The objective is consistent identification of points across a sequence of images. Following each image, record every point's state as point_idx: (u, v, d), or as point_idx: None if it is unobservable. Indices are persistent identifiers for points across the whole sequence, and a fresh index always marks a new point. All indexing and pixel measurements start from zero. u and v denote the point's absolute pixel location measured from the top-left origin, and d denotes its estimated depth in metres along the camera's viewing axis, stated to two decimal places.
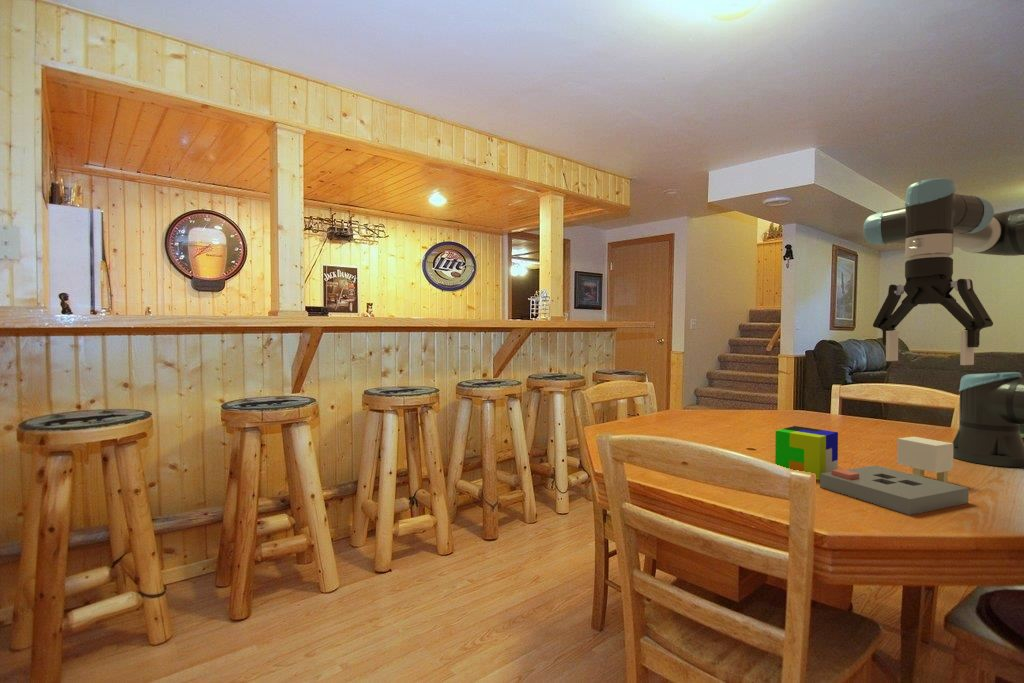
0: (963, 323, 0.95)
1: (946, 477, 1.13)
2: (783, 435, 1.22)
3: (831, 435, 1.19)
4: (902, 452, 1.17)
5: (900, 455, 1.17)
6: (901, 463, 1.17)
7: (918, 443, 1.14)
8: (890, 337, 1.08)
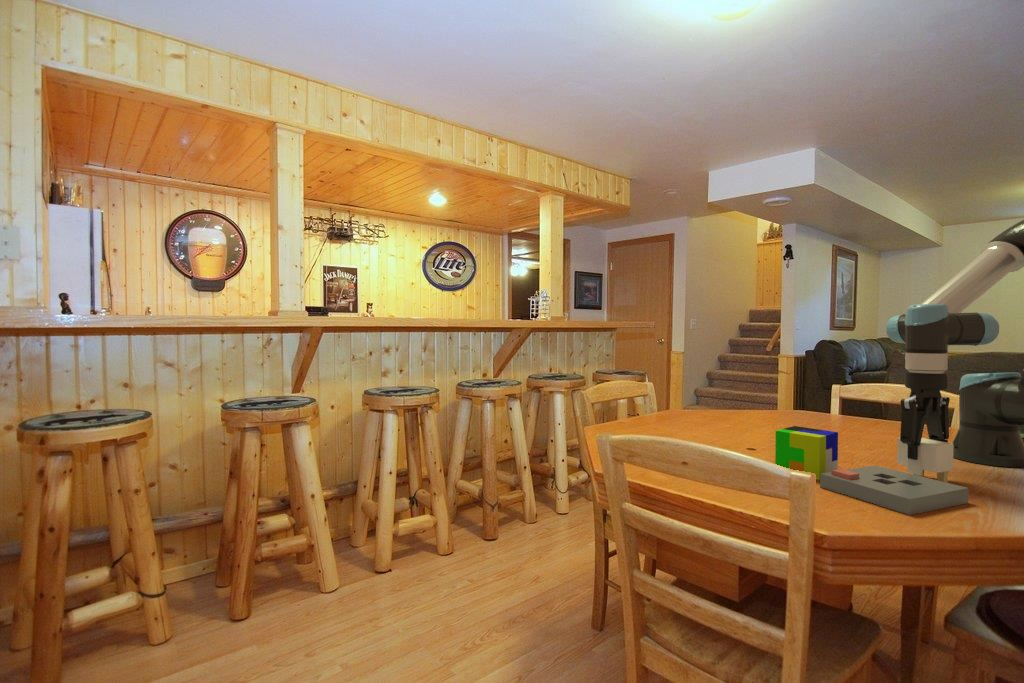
0: None
1: (946, 477, 1.13)
2: (783, 435, 1.22)
3: (831, 435, 1.19)
4: (902, 452, 1.17)
5: (900, 455, 1.17)
6: (901, 463, 1.17)
7: None
8: None
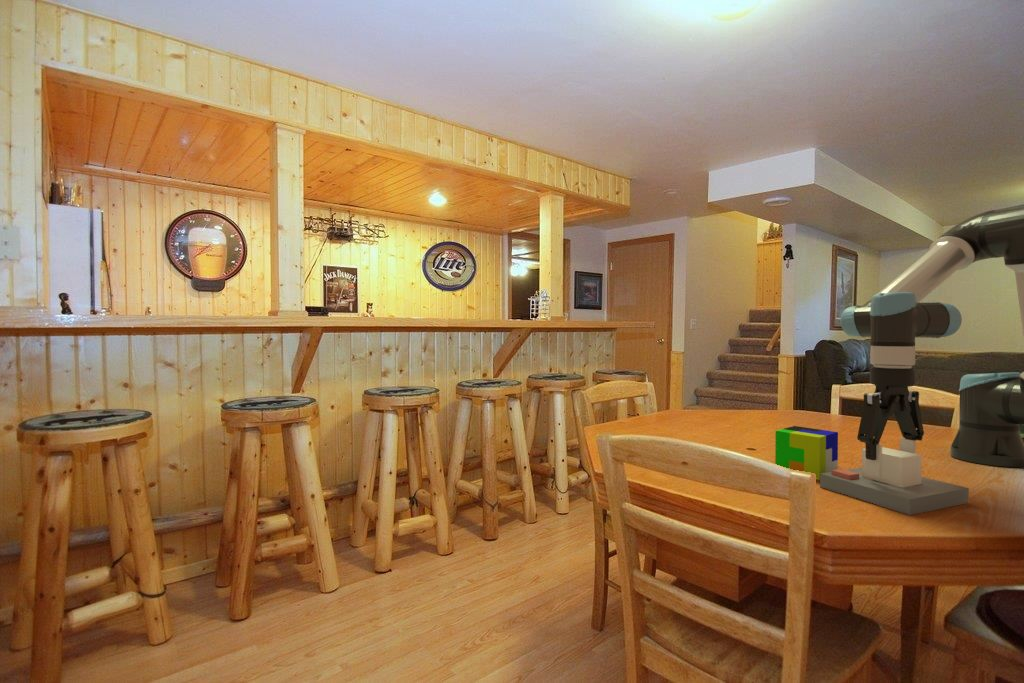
0: None
1: None
2: (783, 435, 1.22)
3: (831, 435, 1.19)
4: None
5: (865, 467, 1.07)
6: (866, 476, 1.07)
7: (883, 454, 1.04)
8: (900, 445, 1.08)
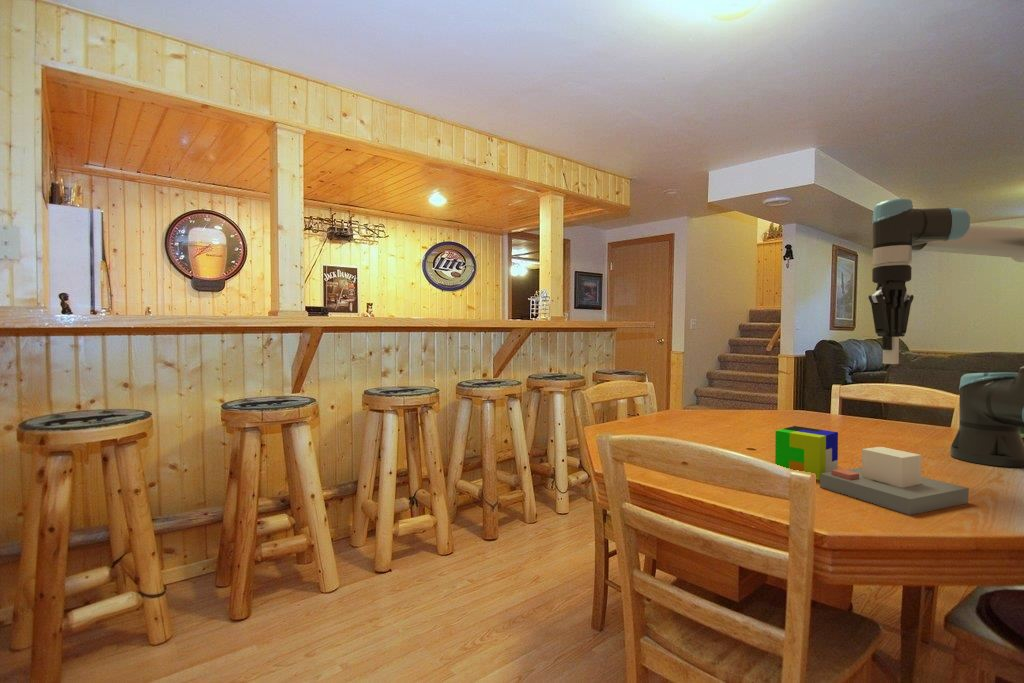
0: None
1: None
2: (783, 435, 1.22)
3: (831, 435, 1.19)
4: (867, 464, 1.07)
5: (865, 467, 1.07)
6: (866, 476, 1.07)
7: (883, 454, 1.04)
8: None
